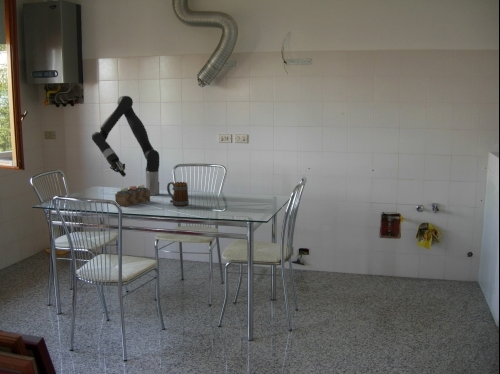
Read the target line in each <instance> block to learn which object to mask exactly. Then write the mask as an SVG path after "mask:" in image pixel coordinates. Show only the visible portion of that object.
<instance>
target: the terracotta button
mask: <svg viewBox="0 0 500 374" xmlns="http://www.w3.org/2000/svg"><path fill="white" fill-rule="evenodd" d="M136 188H137V186H135V185H131V186H129V188H128V190H137V189H136Z"/></svg>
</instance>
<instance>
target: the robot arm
mask: <svg viewBox="0 0 500 374" xmlns="http://www.w3.org/2000/svg"><path fill="white" fill-rule="evenodd" d="M133 103H134V102H133V99H132V97H131V96H128V95H122V96H119V97H118V99H117V106H116V108H115V109H114V110H113V111H112V113H111V114H110V115H108V117H107V118H105V120H104V121H103V123H102V124H101V126H100V127H99V128H100V130H99V131H95V132H93V133H92V135H91V139H92V141H93V142H94V144H95V145H96V146H97V148H98V149H99V151H100V152H101V153H102V155H103V157H104V158H105V160H106V161H107V162H108V163H107V164H109V166H110V167H109V168H110V169H111V170H112V171H114V172H116V173H119V174H120V175H121V176H122V177H123V178H124V177H126V176H127V174H126V172H125V170H126V164H125V163H122V162H121V161H120V157H119V156H118V155H117V154H116V152H115V151H114V149H113V148H112V147H111V145H110V144H109V143H108V141H106V140H107V139H108V136H109V135H110V132H111V131H112V130H113V128H114V127H115V126H116V124H117V123H118V122H119V121H120V119H121V117H123V116H124V117H125V119H126V121H127V123H128V126H129V127H130V130H131V132H132V134H133V135H134V137H135V140H136V141H137V142H138V144H139V146H140V148H141V150H142V153H143V156H144V158H145V160H146V166H145V188H148V190H150V196H159V195H160V179H159V177H160V176H159V174H160V173H159V171H160V170H159V169H160V154H159V151H157V150H155V149H154V147H153V146H152V144H151V142H150V139H149V135H148V131H147V129H146V128H145V125H144V123H143V122H142V120H141V119H140V118H139V116H137V114H136V112H135V111H134V108H133V107H132V106H133Z"/></svg>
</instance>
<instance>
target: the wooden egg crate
mask: <svg viewBox="0 0 500 374" xmlns="http://www.w3.org/2000/svg"><path fill="white" fill-rule="evenodd" d="M136 189H137V190H129V189H128V191H127V192H121V190H119V191H116V193H115V194H114V196H115V197H114V199H115V201H116V202H117V203H118V204H119V205H120V206H119V207H123V208H124V207H129V206H130V207H131V206H135V205H139V204H143V203H147V202H151V195H150V190H148V188H146V187H145V188H143V189H139V188H138V187H136Z"/></svg>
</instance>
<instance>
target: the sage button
mask: <svg viewBox="0 0 500 374" xmlns="http://www.w3.org/2000/svg"><path fill="white" fill-rule="evenodd" d="M128 190H129V188H128V187H120V191H121V192H127V191H128Z"/></svg>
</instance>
